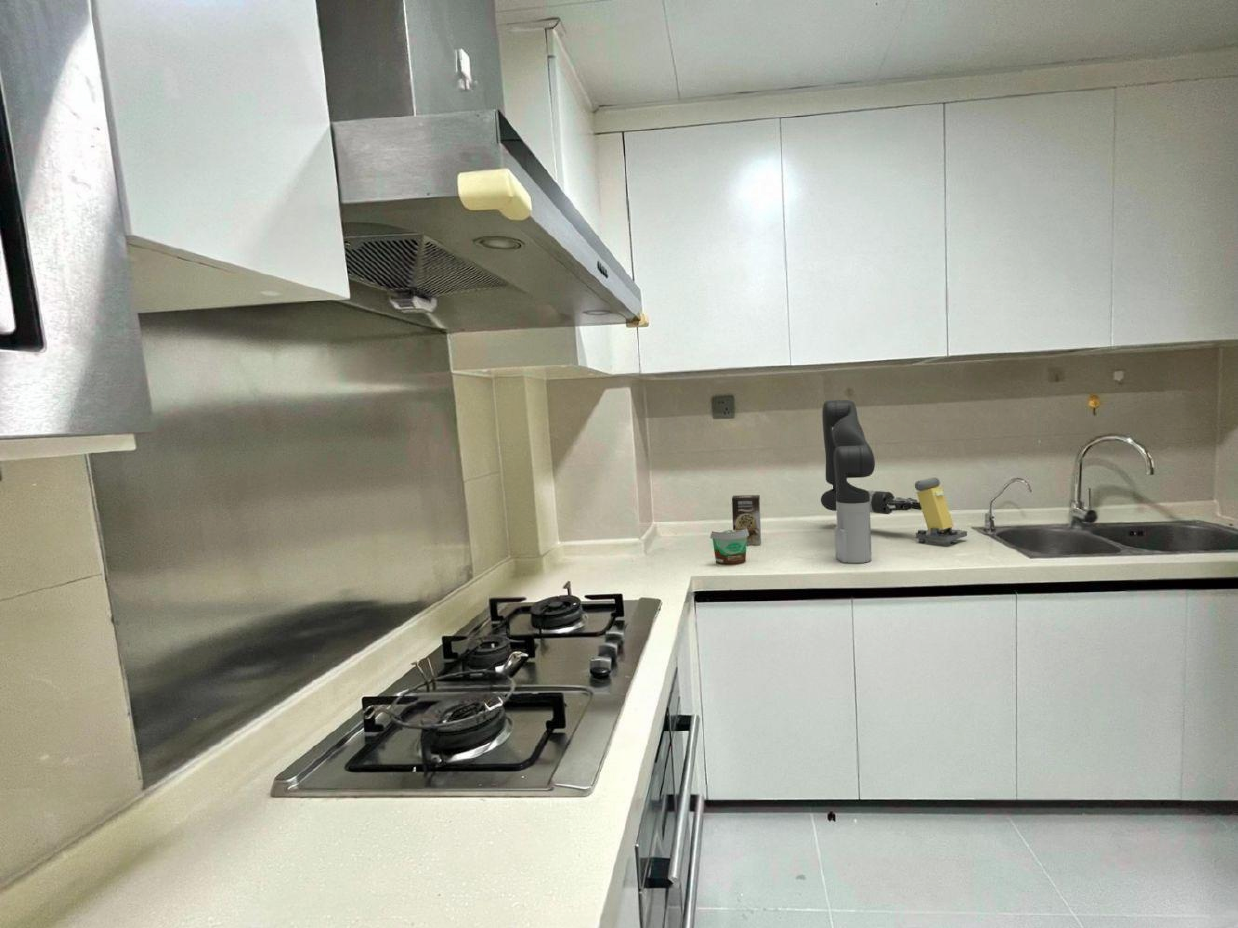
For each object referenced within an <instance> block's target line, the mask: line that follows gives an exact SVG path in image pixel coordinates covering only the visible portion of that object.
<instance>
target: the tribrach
mask: <svg viewBox="0 0 1238 928" xmlns="http://www.w3.org/2000/svg"><path fill="white" fill-rule="evenodd" d="M967 536H968V531H967V530H962V529H961V530H960V529H952V527H950V528H949V529H948V530H945V531H942V532H939V528H933V527H932V528H931V532H929V531H928V529H918V530H917V533H915V539H918V544H926V540H927V541H932V542H933V541H934V542H940V543H941V542H942V543H949V544H951V545H957V544H958V539H961V538H964V537H967Z"/></svg>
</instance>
